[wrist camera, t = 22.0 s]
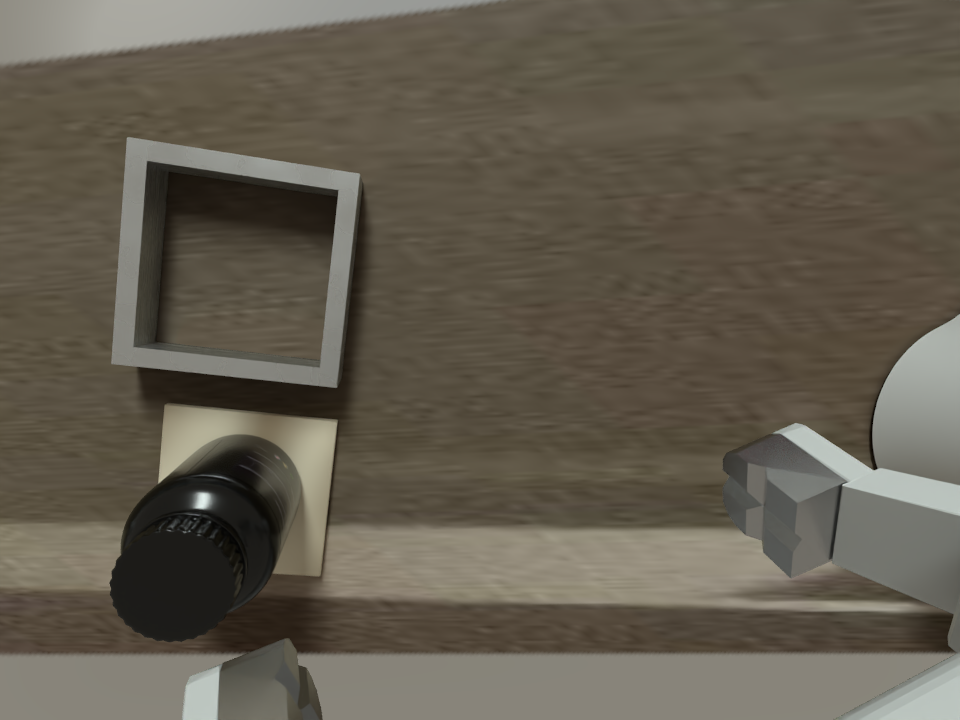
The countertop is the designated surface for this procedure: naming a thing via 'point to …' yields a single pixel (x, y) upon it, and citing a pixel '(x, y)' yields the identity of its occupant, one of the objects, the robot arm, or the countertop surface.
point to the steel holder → (145, 250)
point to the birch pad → (296, 437)
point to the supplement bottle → (205, 538)
